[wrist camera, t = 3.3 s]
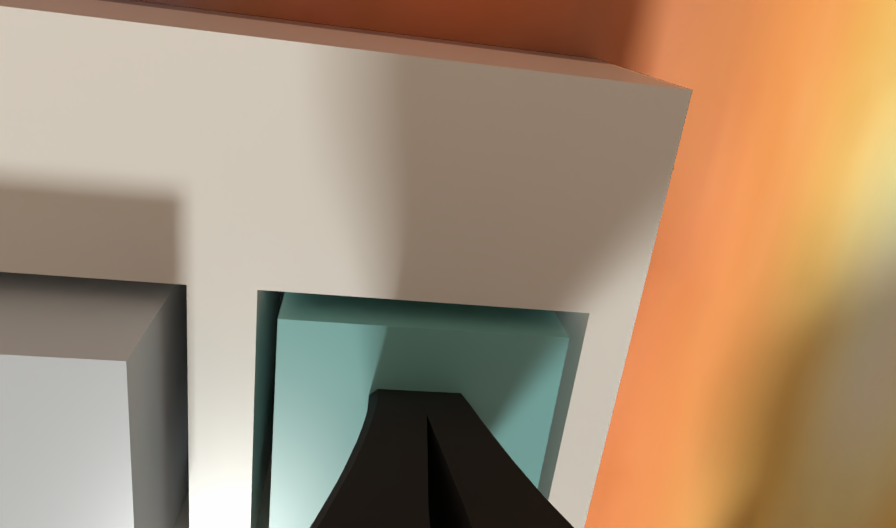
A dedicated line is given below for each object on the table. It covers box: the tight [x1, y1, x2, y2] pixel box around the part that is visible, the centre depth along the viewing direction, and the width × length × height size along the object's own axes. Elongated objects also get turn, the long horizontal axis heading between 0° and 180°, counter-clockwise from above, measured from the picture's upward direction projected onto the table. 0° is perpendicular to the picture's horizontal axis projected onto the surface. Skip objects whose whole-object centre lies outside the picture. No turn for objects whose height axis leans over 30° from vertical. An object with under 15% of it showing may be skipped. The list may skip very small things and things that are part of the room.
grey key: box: [0, 272, 189, 528], centre depth 10 cm, size 4×4×3 cm
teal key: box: [269, 292, 569, 528], centre depth 12 cm, size 4×4×3 cm
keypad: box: [0, 0, 692, 528], centre depth 11 cm, size 17×11×4 cm, turn 83°
